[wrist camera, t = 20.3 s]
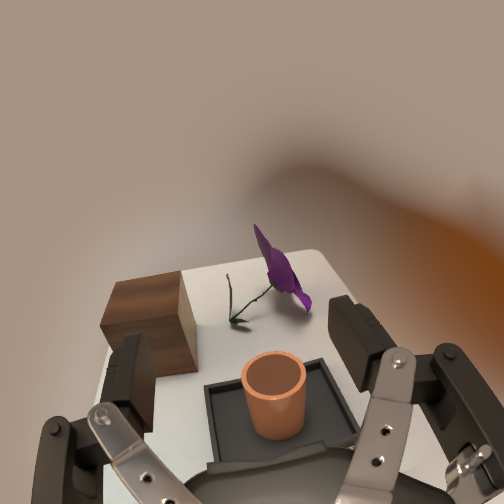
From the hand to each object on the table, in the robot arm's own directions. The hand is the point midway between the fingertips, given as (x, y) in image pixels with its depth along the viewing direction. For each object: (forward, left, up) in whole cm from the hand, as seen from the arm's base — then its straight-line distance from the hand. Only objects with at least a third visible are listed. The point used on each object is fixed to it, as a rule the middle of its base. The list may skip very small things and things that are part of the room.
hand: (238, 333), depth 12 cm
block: (+10, +27, -24) cm, 38 cm away
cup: (+9, +5, -24) cm, 26 cm away
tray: (+9, +5, -24) cm, 26 cm away
